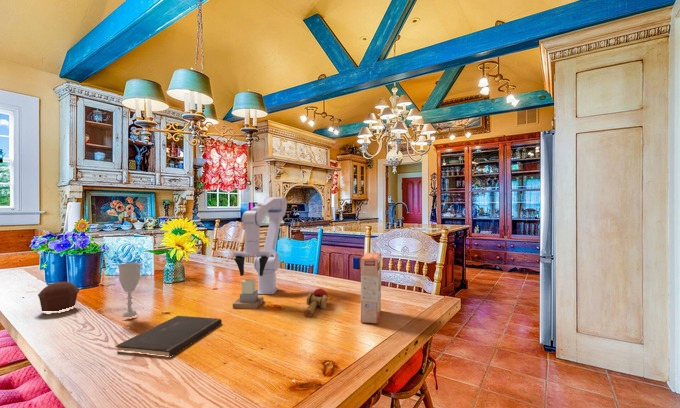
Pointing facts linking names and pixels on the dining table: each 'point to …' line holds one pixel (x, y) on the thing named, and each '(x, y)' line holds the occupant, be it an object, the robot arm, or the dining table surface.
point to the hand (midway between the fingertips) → (251, 275)
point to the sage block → (248, 286)
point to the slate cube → (249, 297)
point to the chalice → (129, 283)
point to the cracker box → (370, 287)
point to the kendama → (315, 301)
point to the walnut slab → (248, 303)
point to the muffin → (58, 296)
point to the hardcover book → (170, 335)
